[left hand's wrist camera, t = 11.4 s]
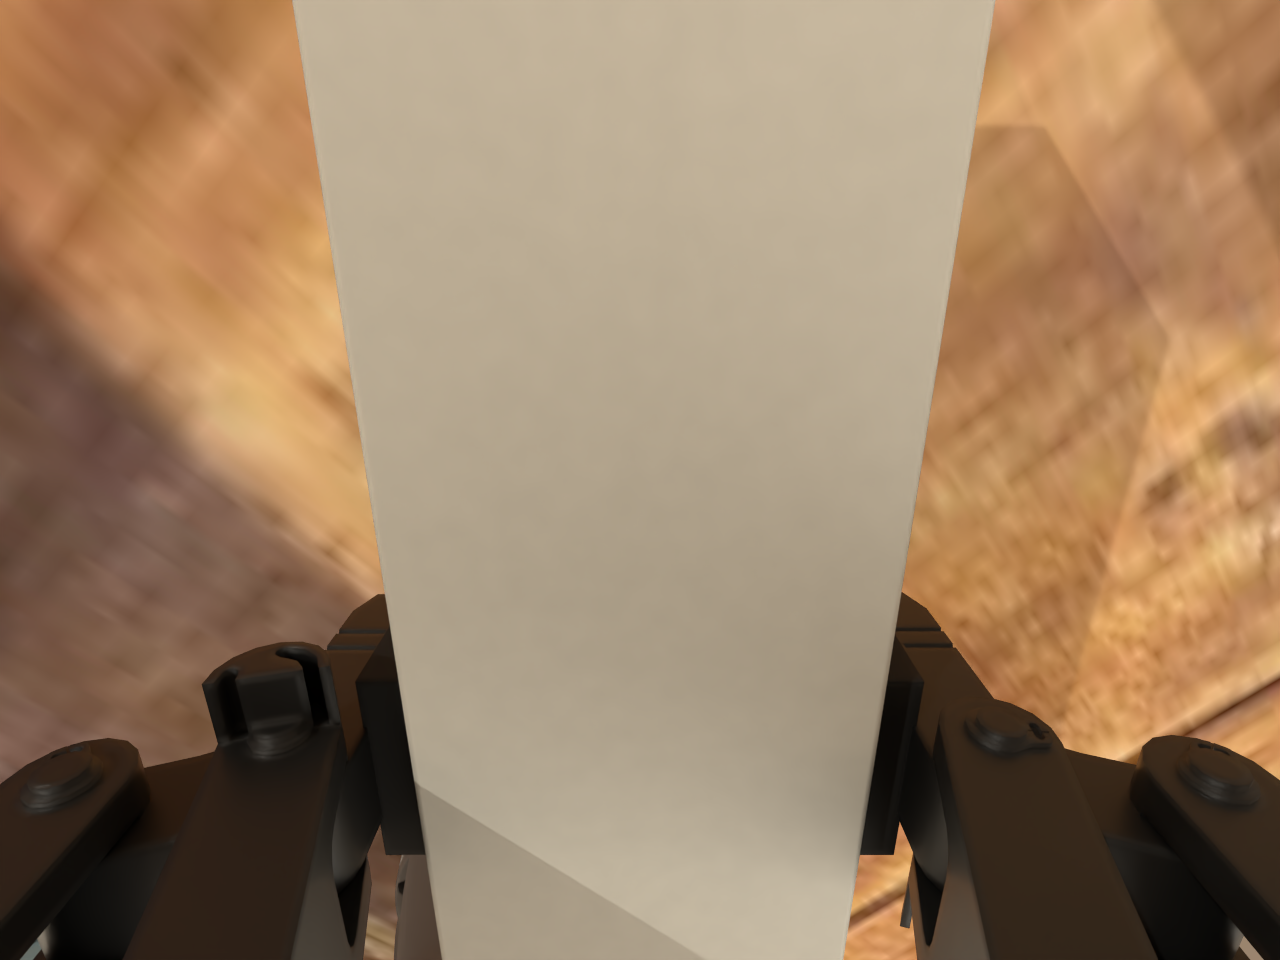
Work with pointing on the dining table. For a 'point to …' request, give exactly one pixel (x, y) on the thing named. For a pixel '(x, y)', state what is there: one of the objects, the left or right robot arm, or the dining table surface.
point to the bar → (643, 436)
